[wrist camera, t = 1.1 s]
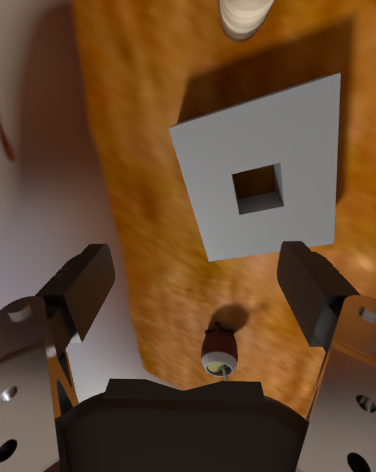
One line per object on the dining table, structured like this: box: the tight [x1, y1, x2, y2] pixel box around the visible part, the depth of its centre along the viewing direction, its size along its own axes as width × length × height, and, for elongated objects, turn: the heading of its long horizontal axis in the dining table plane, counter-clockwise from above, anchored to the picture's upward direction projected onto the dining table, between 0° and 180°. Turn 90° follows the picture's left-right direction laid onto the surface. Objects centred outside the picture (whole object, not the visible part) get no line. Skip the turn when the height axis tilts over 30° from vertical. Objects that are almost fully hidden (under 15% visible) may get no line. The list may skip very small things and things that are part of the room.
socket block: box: [169, 73, 341, 261], centre depth 28 cm, size 18×16×5 cm
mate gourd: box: [201, 322, 238, 381], centre depth 42 cm, size 8×8×15 cm
